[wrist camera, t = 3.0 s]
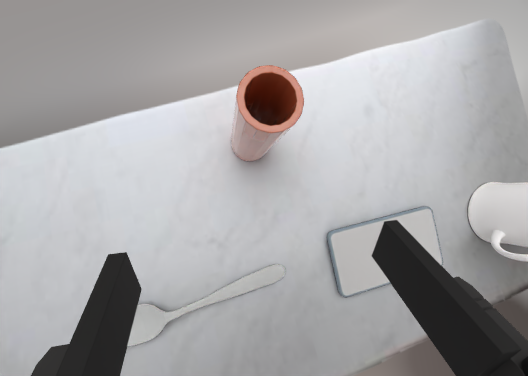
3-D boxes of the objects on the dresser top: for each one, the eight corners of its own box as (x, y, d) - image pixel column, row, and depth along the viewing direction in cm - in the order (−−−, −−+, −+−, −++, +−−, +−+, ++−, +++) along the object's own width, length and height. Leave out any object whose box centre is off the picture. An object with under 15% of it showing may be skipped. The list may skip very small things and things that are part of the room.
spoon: (102, 314, 27) (94, 322, 25) (280, 252, 30) (283, 255, 28) (113, 351, 27) (106, 361, 25) (290, 284, 30) (293, 289, 28)
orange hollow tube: (234, 164, 30) (243, 136, 16) (228, 127, 30) (231, 68, 16) (270, 158, 30) (308, 127, 16) (264, 123, 30) (297, 62, 16)
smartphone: (445, 266, 33) (342, 300, 30) (439, 264, 33) (338, 296, 31) (432, 204, 32) (327, 232, 30) (426, 204, 33) (324, 231, 31)
